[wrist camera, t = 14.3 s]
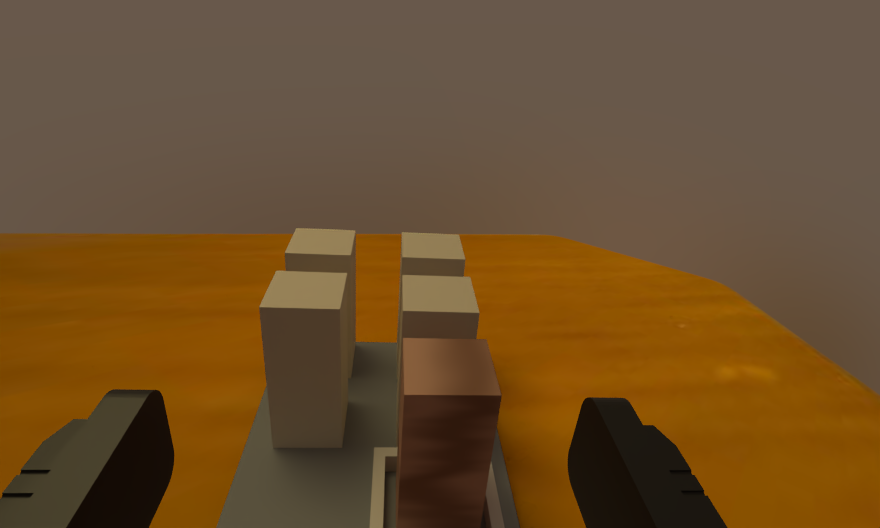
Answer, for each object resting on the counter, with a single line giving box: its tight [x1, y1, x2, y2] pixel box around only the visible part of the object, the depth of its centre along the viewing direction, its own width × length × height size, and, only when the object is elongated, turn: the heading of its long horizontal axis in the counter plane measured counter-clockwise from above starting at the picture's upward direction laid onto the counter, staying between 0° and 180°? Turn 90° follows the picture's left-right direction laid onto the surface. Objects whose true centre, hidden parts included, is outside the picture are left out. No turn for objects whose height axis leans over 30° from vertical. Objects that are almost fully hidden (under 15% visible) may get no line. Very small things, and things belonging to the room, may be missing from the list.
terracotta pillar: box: [396, 338, 502, 528], centre depth 31 cm, size 5×5×12 cm
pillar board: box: [216, 228, 520, 528], centre depth 37 cm, size 19×24×14 cm
